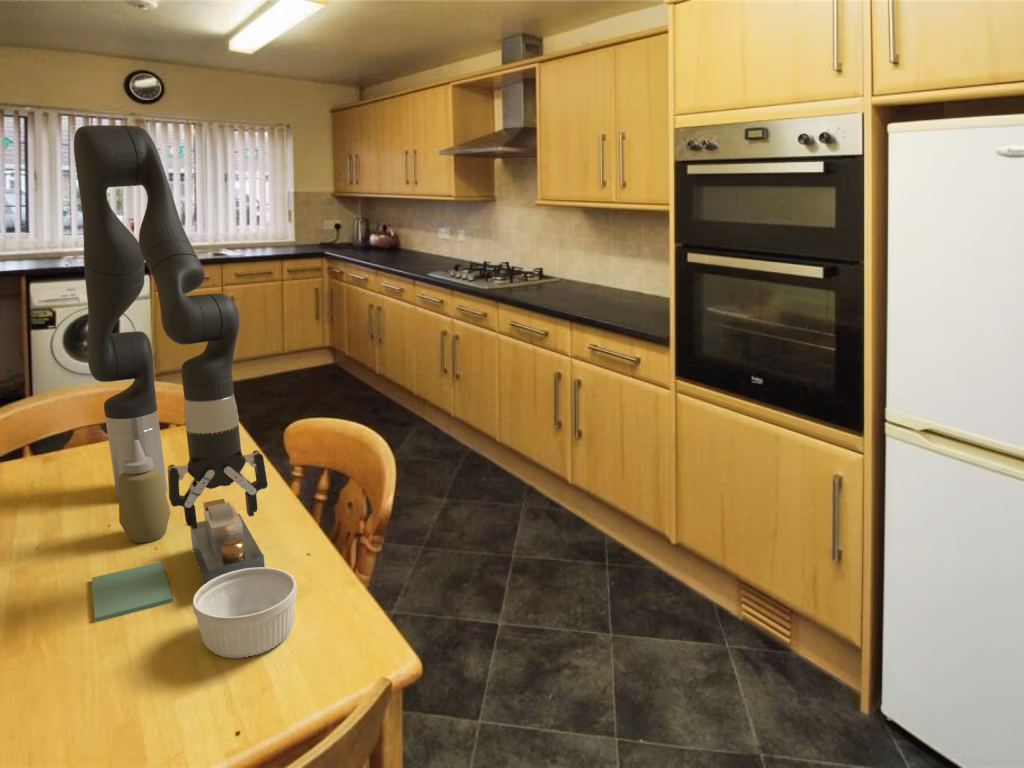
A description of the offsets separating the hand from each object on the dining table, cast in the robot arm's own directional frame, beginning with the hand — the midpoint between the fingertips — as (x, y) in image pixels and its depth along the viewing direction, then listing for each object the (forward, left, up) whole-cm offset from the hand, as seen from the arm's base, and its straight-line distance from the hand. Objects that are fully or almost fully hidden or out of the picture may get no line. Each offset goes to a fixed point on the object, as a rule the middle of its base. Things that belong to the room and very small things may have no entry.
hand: (222, 520), depth 112 cm
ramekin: (+21, -1, -9) cm, 23 cm away
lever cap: (0, 0, -3) cm, 3 cm away
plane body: (0, 0, -8) cm, 8 cm away
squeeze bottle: (-19, -10, -9) cm, 23 cm away
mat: (0, -14, -8) cm, 16 cm away
